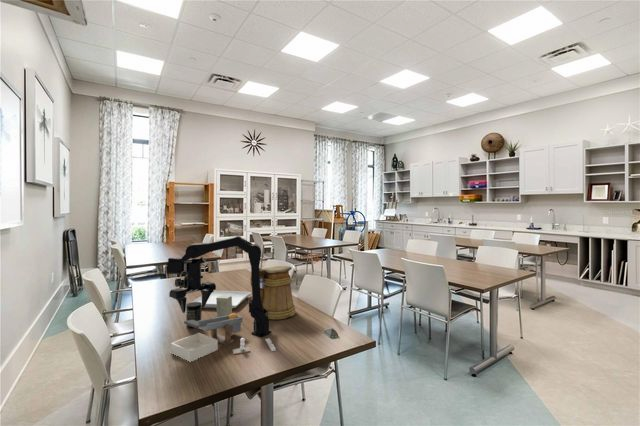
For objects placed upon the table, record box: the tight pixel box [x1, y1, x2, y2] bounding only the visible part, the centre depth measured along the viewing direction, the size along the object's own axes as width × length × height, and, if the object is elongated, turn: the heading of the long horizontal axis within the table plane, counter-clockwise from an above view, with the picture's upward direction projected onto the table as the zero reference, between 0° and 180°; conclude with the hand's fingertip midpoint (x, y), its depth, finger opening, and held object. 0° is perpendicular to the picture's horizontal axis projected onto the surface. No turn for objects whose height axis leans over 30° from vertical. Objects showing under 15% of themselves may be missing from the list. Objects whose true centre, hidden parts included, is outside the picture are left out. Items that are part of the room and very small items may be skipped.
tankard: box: [250, 265, 297, 321], centre depth 164 cm, size 18×24×25 cm
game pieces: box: [231, 327, 339, 356], centre depth 133 cm, size 45×13×6 cm, turn 112°
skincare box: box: [216, 296, 233, 317], centre depth 154 cm, size 6×4×12 cm
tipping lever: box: [183, 315, 244, 333], centre depth 135 cm, size 18×16×6 cm
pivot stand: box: [208, 324, 234, 346], centre depth 133 cm, size 4×11×8 cm, turn 56°
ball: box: [229, 312, 238, 319], centre depth 139 cm, size 4×4×4 cm
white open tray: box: [170, 332, 219, 363], centre depth 123 cm, size 12×12×4 cm
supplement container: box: [185, 301, 203, 329], centre depth 148 cm, size 7×7×10 cm
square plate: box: [191, 290, 252, 309], centre depth 184 cm, size 27×27×4 cm
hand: (193, 309), depth 135 cm, fingers open, 9 cm apart
